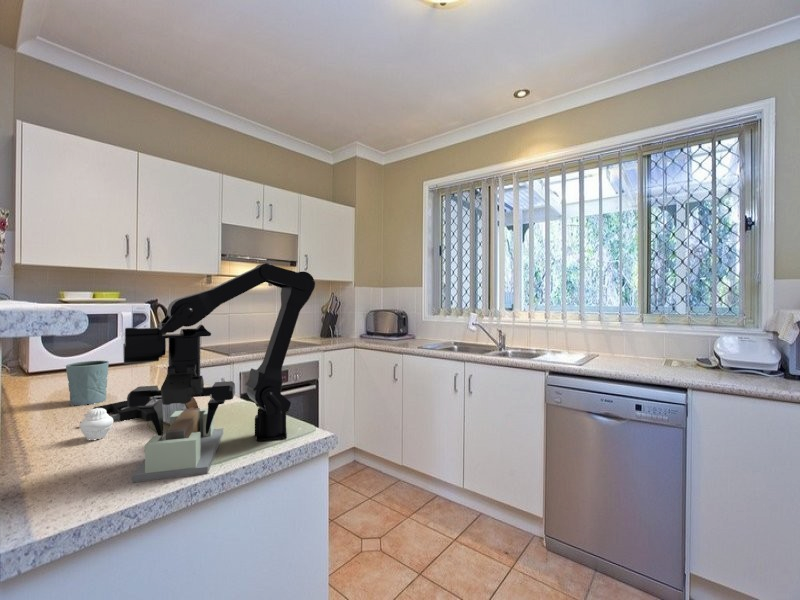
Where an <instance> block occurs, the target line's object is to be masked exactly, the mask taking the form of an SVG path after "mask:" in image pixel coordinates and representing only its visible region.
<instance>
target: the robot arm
mask: <svg viewBox="0 0 800 600" xmlns="http://www.w3.org/2000/svg"><path fill="white" fill-rule="evenodd" d="M264 283H266V284H270V285H272V286H274V287H276V288H280V303H281V304H280V309H279V311H278V315H277V317H276V320H275V323H274V327H273V330H272V333H271V336H270V339H269V342H268V345H267V347H266V351H265V354H264V357H263V360H262V362H261V364H260V365H259V366H258V367H257V369H255V368H250V371H249V375H248V379H247V381H246V383H245V384H244V385H245V386H246V394H247V397H248V398H249V399H250V400H251V401H253V402H254V403H255V406H256V407H257V414H256V415H255V416H254V436H255V437H256V442H263V441H272V440H282V439H287V436H288V435H287V434H288V433H287V412H289V410H290V407H291V404H292V402H291V401H290V400H289V399H288V398H287V397H286V396H284V395H283V394H282V386H283V365H284V362H285V359H286V356H287V353H288V350H289V347H290V344H291V340H292V336H293V334H294V330H295V327H296V325H297V322H298V319H299V315H300V312H301V310H302V309H303V308H304V307H305V305H306V304H307V302H308V301H309V299H310V298H311V296H312V294H313V292H314V290H315V287H316V281H315V279H314V277H313V276H312V274H311V273H310V272H308V271H294V270H291V269H287V268H284V267H283V268H282V267H279V266H276V265H273V264H271V263H269V262H268V263H267V262H265V263H261V264H257V265H256V266H255V267H254V268H252V269H250V270H248V271H246V272H244V273H241V274H240V275H237V276H235V277H233V278H231V279H229V280H227V281H224V282H222V283H221V284H219V285H217V286H214V287H211V288H210V289H207V290H204V291H200V292H198V293H193V294H189V295H185V296H183V297H179V298H176V299H174V300H173V301H171V302H169V304H168V307H167V309H166V310H167V311H166V312H167V313H166V316H165V317H164V318H163V319H162V320H161V321H160V322H159V323H158V325H157V326H156V327H142V328H141V327H139V328H137V327H125V328H124V343H123V346H122V347H123V355H122V356H123V357H122V358H123V365H126V364H127V365H128V364H141V363H151V362H159V361H160V358H163V356H166V351H167V350H166V348H167V345H166V339H168V367H167V371H166V372H167V373H166V377H165V379H164V381H163V383H162V384H161V387H160V389H159V387H158V385H144V386H143V385H141V386H137V387H136V388H134V389H132V390H131V391H130V392H129V393H127V397H126V401H127V406H128V407H135V406H139V407H137V409H138V410H143V411H145V412H146V413H147V414H148V415H149V417H150V419H151V420H152V421H151V422H152V424H153V425H152V426H153V427H154V429H155V431H156V434H157V436H161V435H162V437H163V436H164V423H163V407H162V404H164V405H170V404H173V403H181V404H185V403H188V402H190V401H191V399H192V397H194V398H199V397H200V398H201V397H209V398H210V400H209V401H208V402H207V409H208V413H207V421H206V434H208V432H209V430H210V427H211V424H212V421H213V418H214V419H215V414H216V412H217V410H218V407H219V405H223V404H225V403H226V401H231V400H233V399H234V396H235V394H236V383H235V382H234V381H232V380H229V381H216V382H214V383H213V385H212V386H205V382H204V377H203V375H201V337H210V336H212V333H211V331H209V330H208V329H206V327H205V326H204V325H203V324H199V325H198V326H197V327H196V328H187V327H192V326H195V325H197V324H198V323H200V322H201V321H202V320H204V319H205V318H207V316H208V315H210V314H211V313H212V312H214V310H216V309H217V308H218V307H220V305H223V304H224V303H227V302H228V301H230V300H233V299H234V298H237V297H239V296H241V295H242V294H244V293H246V292H248V291H250V290H252V289H254V288H256V287H258V286H260V285H262V284H264ZM183 327H185V328H183ZM180 328H181V329H180ZM179 329H180V332H179V333H175V332H176V331H177V330H179ZM164 333H165V334H164ZM168 333H169V334H168ZM159 399H162V400H159Z"/></svg>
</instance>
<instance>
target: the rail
mask: <svg viewBox="0 0 800 600" xmlns="http://www.w3.org/2000/svg"><path fill="white" fill-rule="evenodd" d="M200 409H201V408H199V407H198V408H193V409H185V410H184V411H183V412H182V413H181V414H180V416H179V417H178V418H177V419H176V421H175V422H174V423H173V424H172V426H171V427H170V426H169V428H168V429H167V430H166V431H165V434H166V440H173V439H184V438H189V436H190V435H191V433H194V432H200Z"/></svg>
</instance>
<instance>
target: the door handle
mask: <svg viewBox="0 0 800 600" xmlns="http://www.w3.org/2000/svg"><path fill="white" fill-rule="evenodd" d="M137 407H139V406H135V407H128V406H127V400H123V401H118V402H114V403H108V404H104V405H98V406H94V407H93V408H92V409H95V408H103V409H105V410H106V411H107V412H106V413H107V414H109V416H111V417H112V418H113V423H116V422H115V421H118V422H125V421H124V420H126V421H131V420H130V419H132V420H135V418H137V419H140V418H142V419H144V420H145V421H147V422H152V420H151V419H150V417H149V415H148V414H147V413H146V412H145V411H143V410H138V409H137ZM110 412H111V413H110ZM81 422H82V421H80V423H81ZM80 423H79V424H80Z"/></svg>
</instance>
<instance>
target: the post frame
mask: <svg viewBox="0 0 800 600" xmlns="http://www.w3.org/2000/svg"><path fill="white" fill-rule="evenodd" d="M182 412H183V411H175V412H174V413H173V414H172V415H171V417H170V425H169V428H170V427H171V426H172V424H173V423H174V422H175V421H176V419H177V418H178V417H179V416H180V414H181V413H182ZM207 413H208V408H200V432H194V433H191V435H190V436H189V438H184V439H173V440H166V433H164V434H163V437H162V435H161V436H158V435H152V437H150V439H149V440H148V441H147V442H146V443H145V444H144V459H143V461H142V462H141V463H140V464H139V465H138V466H137V468H136V469H135V470H134V472H133V473H132V474H131V475H130V483H139V482H148V481H156V480H163V479H171V478H181V477H187V476H189V477H190V476H196V475H197V476H198V475H204V474H205V475H206V474H208V473H209V471H210V468H211V466H212V463H213V461H214V459H215V455H216V452H217V451H218V448H219V446H220V442H221V441H222V440H221V439H222V438H223V436H224V428H215V421H214V420H215V417H214V418H213V421H212V424H211V427H210V430H209V432H208V434H206V421H207Z"/></svg>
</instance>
